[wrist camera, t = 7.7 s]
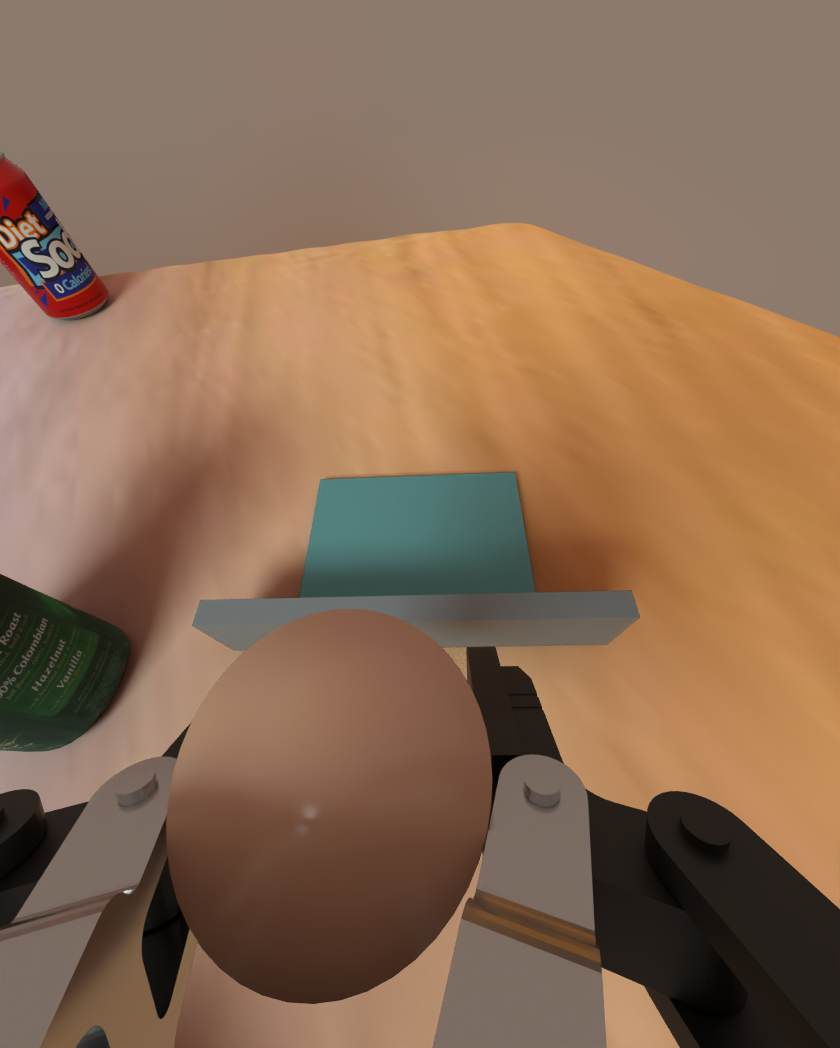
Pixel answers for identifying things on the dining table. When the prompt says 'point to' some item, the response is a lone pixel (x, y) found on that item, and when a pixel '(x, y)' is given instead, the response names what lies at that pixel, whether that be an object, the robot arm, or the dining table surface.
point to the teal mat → (418, 537)
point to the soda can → (43, 251)
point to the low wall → (442, 617)
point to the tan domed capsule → (329, 806)
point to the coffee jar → (53, 669)
